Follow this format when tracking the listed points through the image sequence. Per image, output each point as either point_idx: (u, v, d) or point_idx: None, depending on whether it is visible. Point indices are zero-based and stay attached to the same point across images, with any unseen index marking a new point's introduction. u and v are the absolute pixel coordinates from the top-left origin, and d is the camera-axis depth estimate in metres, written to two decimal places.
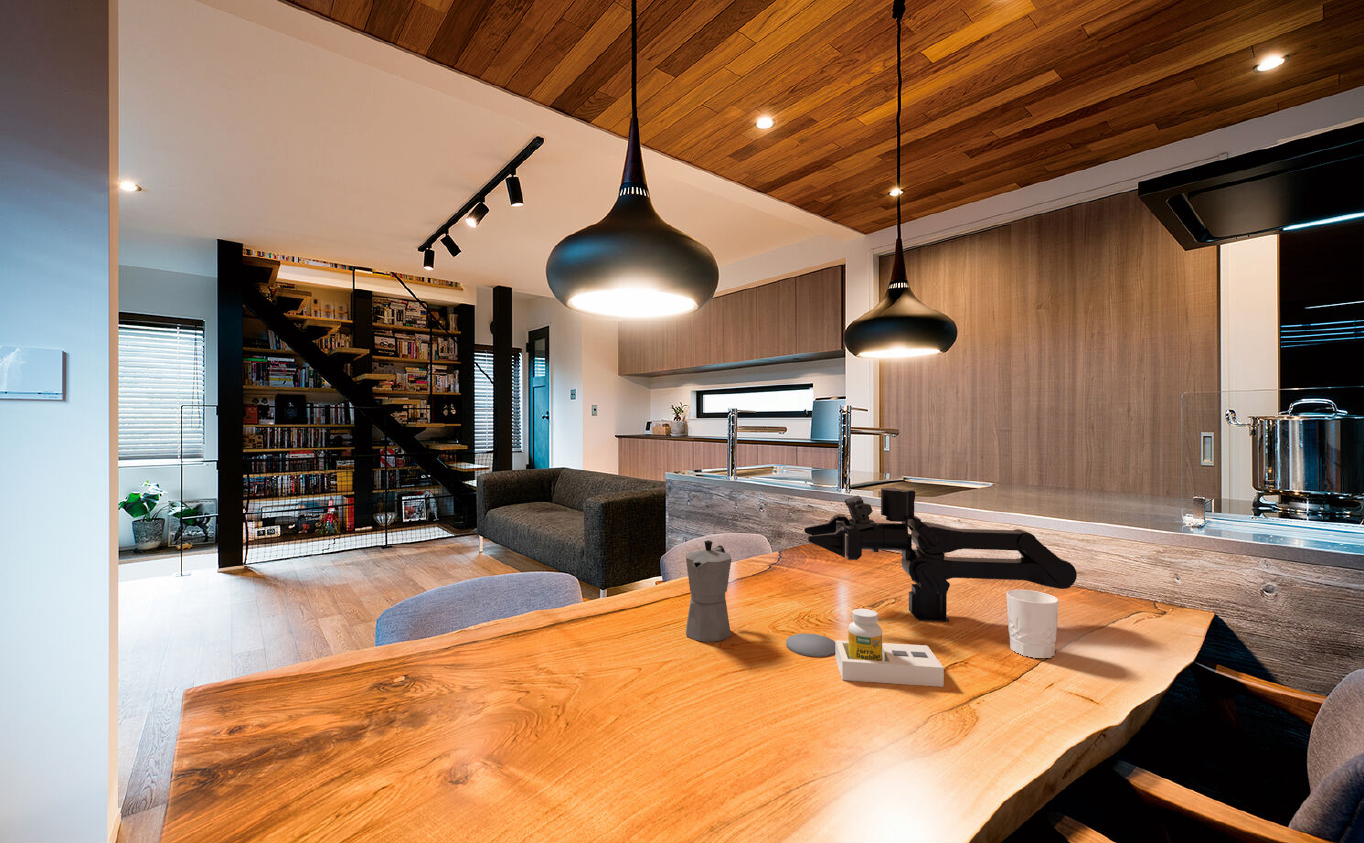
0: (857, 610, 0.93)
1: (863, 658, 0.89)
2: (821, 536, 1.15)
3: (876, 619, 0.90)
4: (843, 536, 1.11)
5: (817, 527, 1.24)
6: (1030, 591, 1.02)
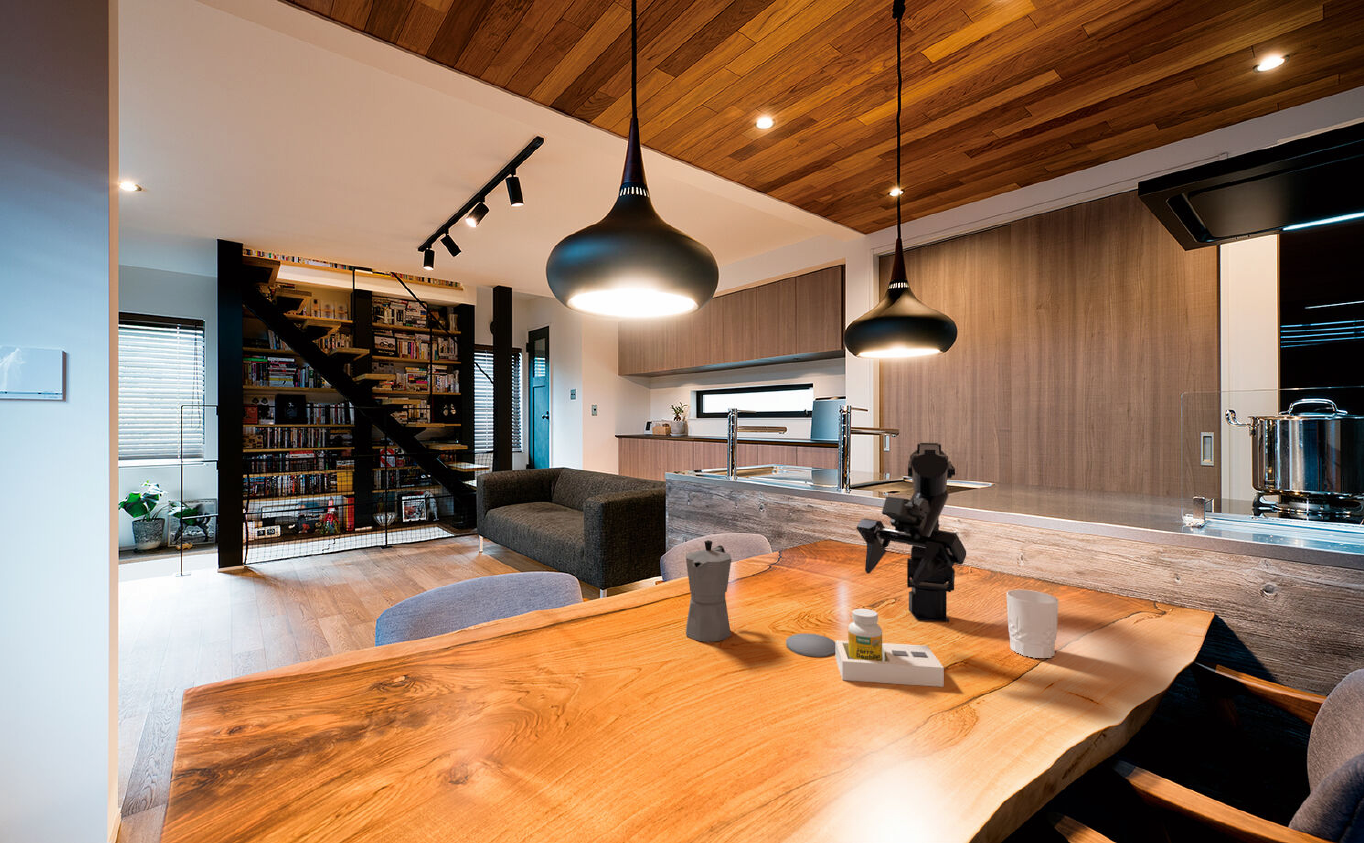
0: (857, 610, 0.93)
1: (863, 658, 0.89)
2: (922, 569, 0.93)
3: (876, 619, 0.90)
4: (945, 551, 0.93)
5: (871, 557, 1.01)
6: (1030, 591, 1.02)
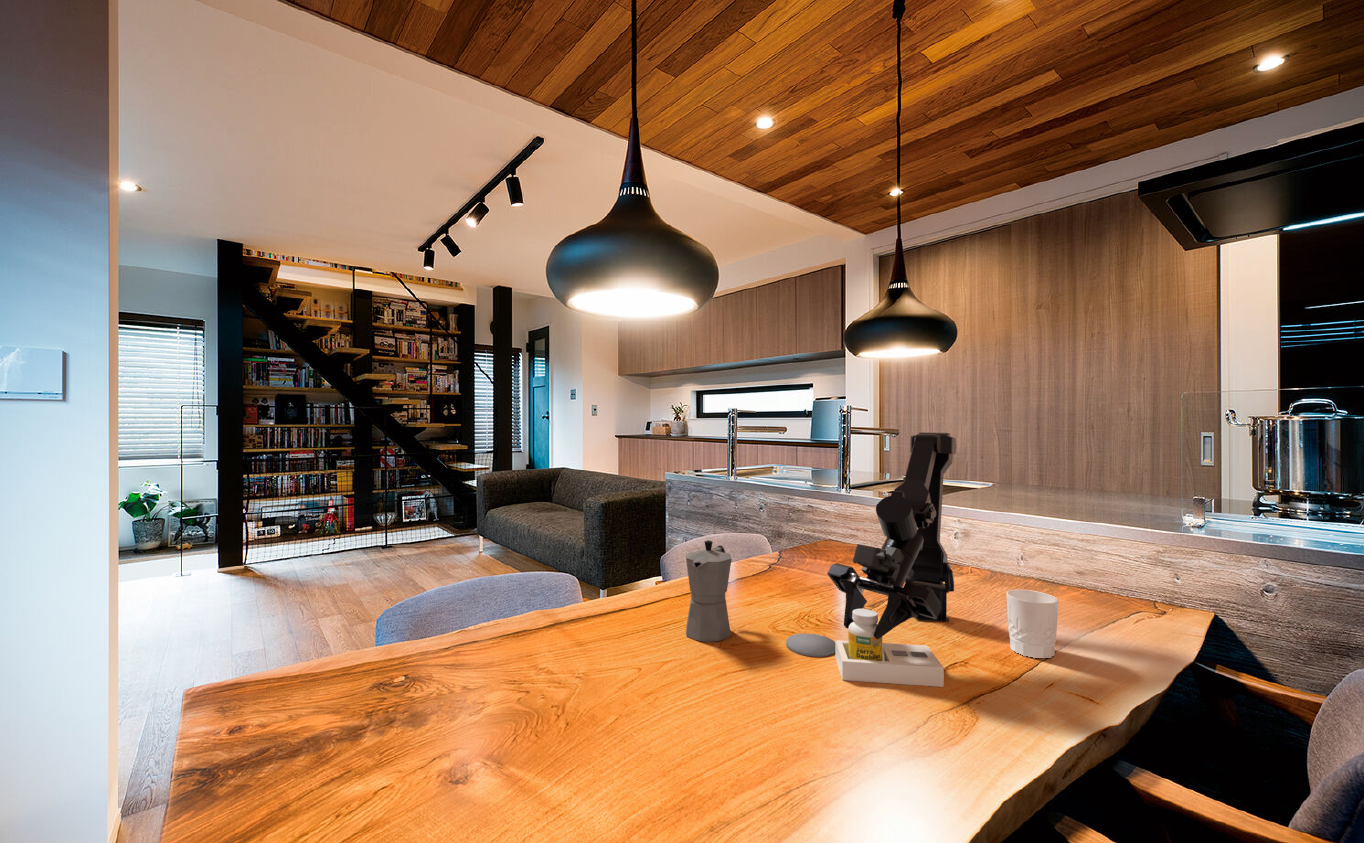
0: (857, 610, 0.93)
1: (863, 658, 0.89)
2: (884, 622, 0.89)
3: (876, 619, 0.90)
4: (908, 603, 0.88)
5: (850, 610, 0.94)
6: (1030, 591, 1.02)
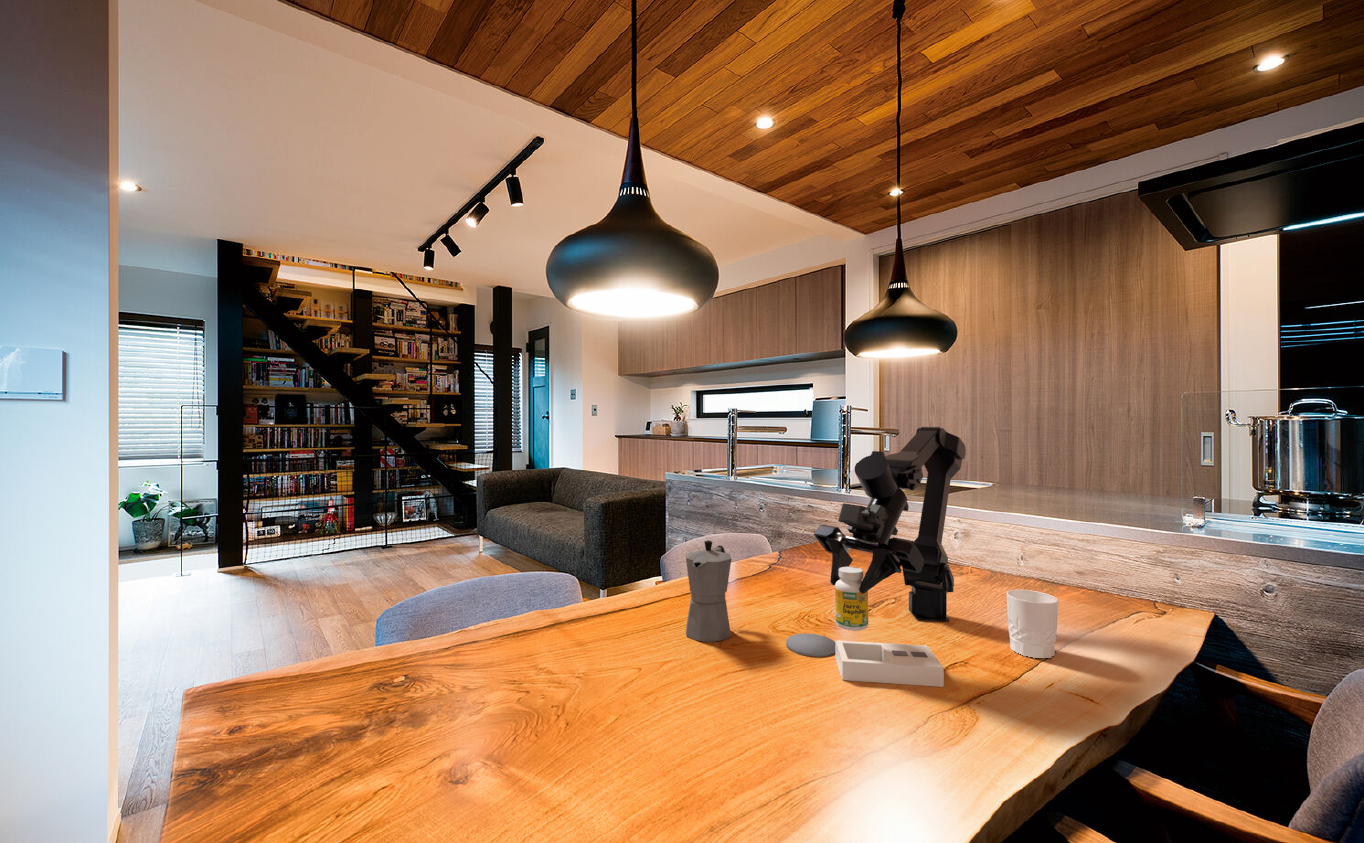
0: (843, 568, 0.95)
1: (850, 613, 0.92)
2: (869, 577, 0.91)
3: (861, 575, 0.93)
4: (892, 558, 0.91)
5: (837, 567, 0.96)
6: (1030, 591, 1.02)
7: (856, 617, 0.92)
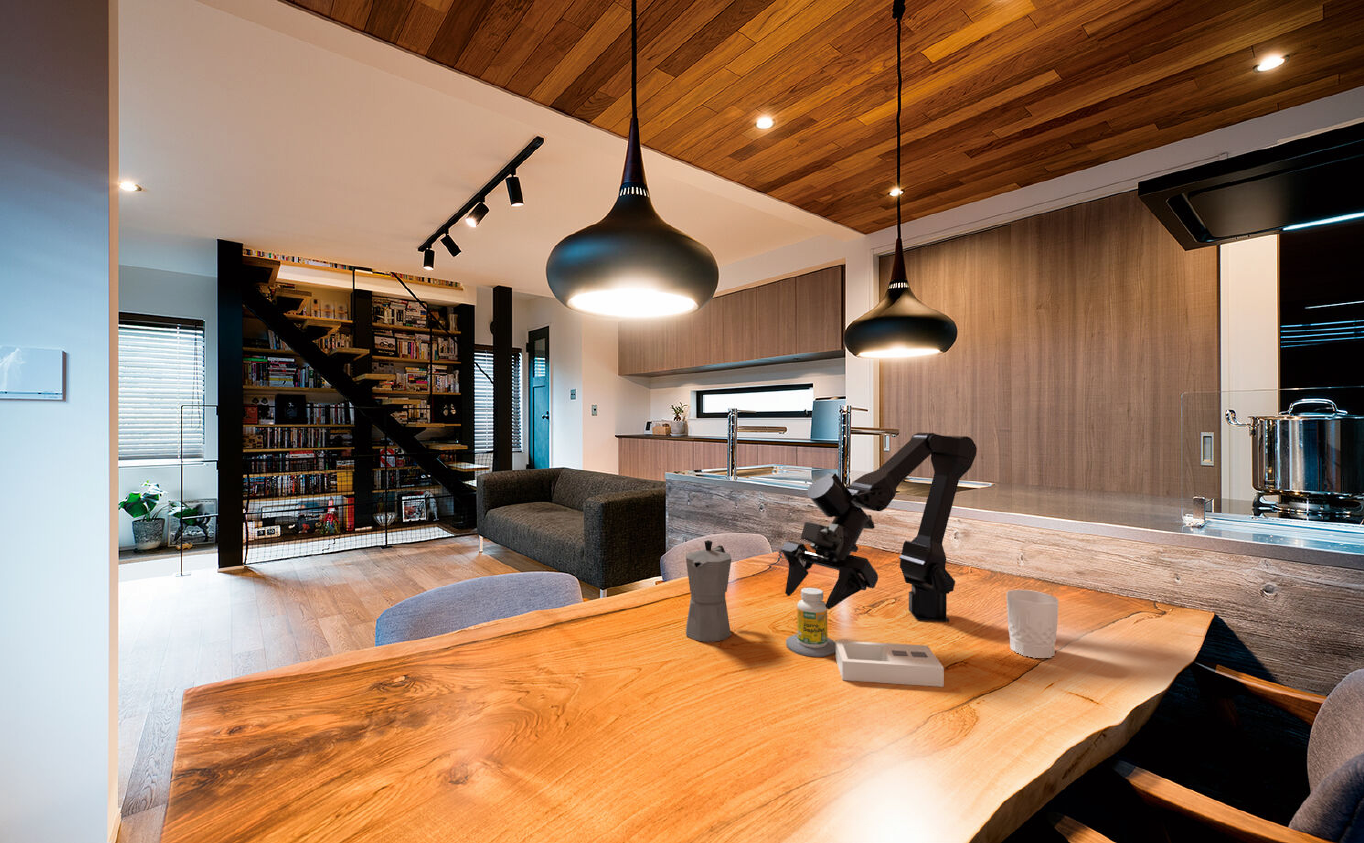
0: (805, 589, 1.02)
1: (809, 631, 0.99)
2: (835, 593, 0.97)
3: (821, 596, 1.00)
4: (856, 576, 0.96)
5: (792, 580, 1.05)
6: (1030, 591, 1.02)
7: (815, 636, 0.99)
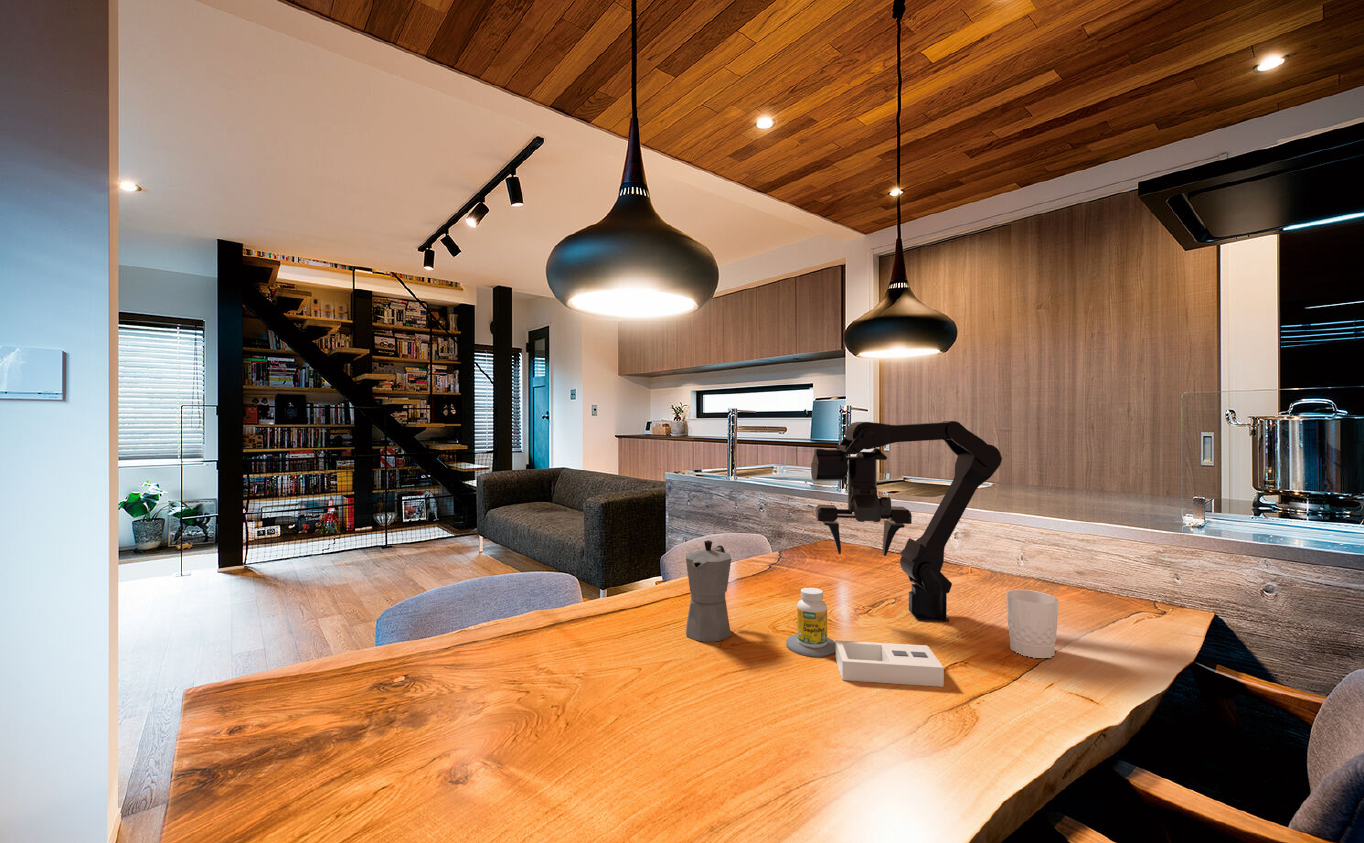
0: (805, 589, 1.02)
1: (809, 631, 0.99)
2: (889, 544, 1.15)
3: (821, 596, 1.00)
4: None
5: (839, 541, 1.17)
6: (1030, 591, 1.02)
7: (815, 635, 0.99)
